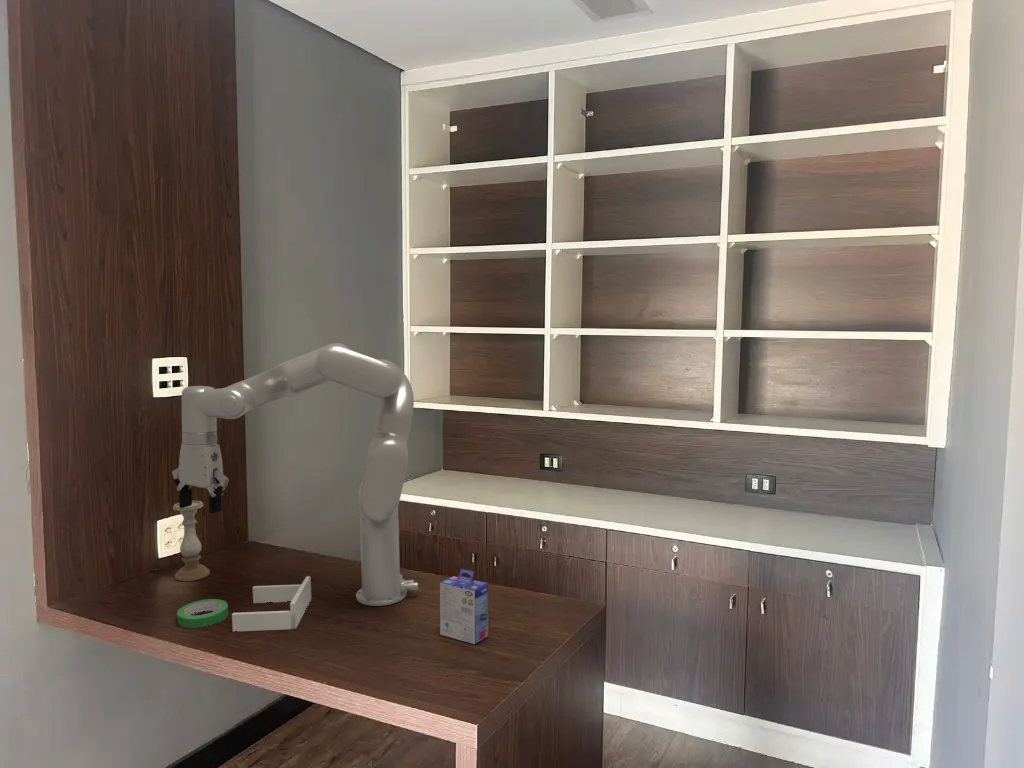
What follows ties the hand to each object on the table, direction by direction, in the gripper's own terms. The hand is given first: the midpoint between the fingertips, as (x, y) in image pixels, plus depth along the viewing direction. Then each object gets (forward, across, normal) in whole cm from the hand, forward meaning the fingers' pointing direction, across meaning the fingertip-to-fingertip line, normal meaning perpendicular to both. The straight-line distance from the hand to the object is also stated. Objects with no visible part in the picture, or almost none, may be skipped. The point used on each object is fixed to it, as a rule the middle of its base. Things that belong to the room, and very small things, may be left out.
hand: (200, 509), depth 171 cm
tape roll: (+26, -3, +2) cm, 26 cm away
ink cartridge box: (+23, -65, -14) cm, 70 cm away
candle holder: (+26, +22, -17) cm, 38 cm away
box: (+25, -17, -6) cm, 30 cm away
